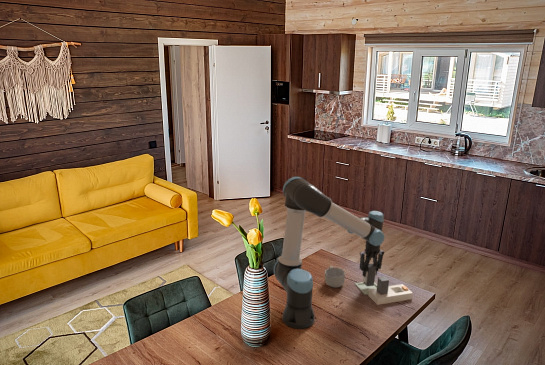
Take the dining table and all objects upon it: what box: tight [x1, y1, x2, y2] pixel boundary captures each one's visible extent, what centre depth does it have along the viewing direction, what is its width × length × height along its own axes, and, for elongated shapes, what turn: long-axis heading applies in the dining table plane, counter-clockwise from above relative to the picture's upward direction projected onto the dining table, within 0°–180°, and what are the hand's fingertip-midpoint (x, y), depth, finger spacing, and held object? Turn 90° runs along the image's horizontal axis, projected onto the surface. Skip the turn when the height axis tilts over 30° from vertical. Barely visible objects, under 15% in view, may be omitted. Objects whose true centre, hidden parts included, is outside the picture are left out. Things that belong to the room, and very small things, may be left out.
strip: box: [367, 276, 414, 306], centre depth 218 cm, size 20×9×12 cm, turn 107°
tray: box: [354, 281, 377, 296], centre depth 228 cm, size 11×11×1 cm
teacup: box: [324, 265, 346, 289], centre depth 232 cm, size 14×11×8 cm
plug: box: [362, 262, 376, 286], centre depth 226 cm, size 4×4×11 cm
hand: (368, 281), depth 227 cm, fingers closed on plug, 4 cm apart
